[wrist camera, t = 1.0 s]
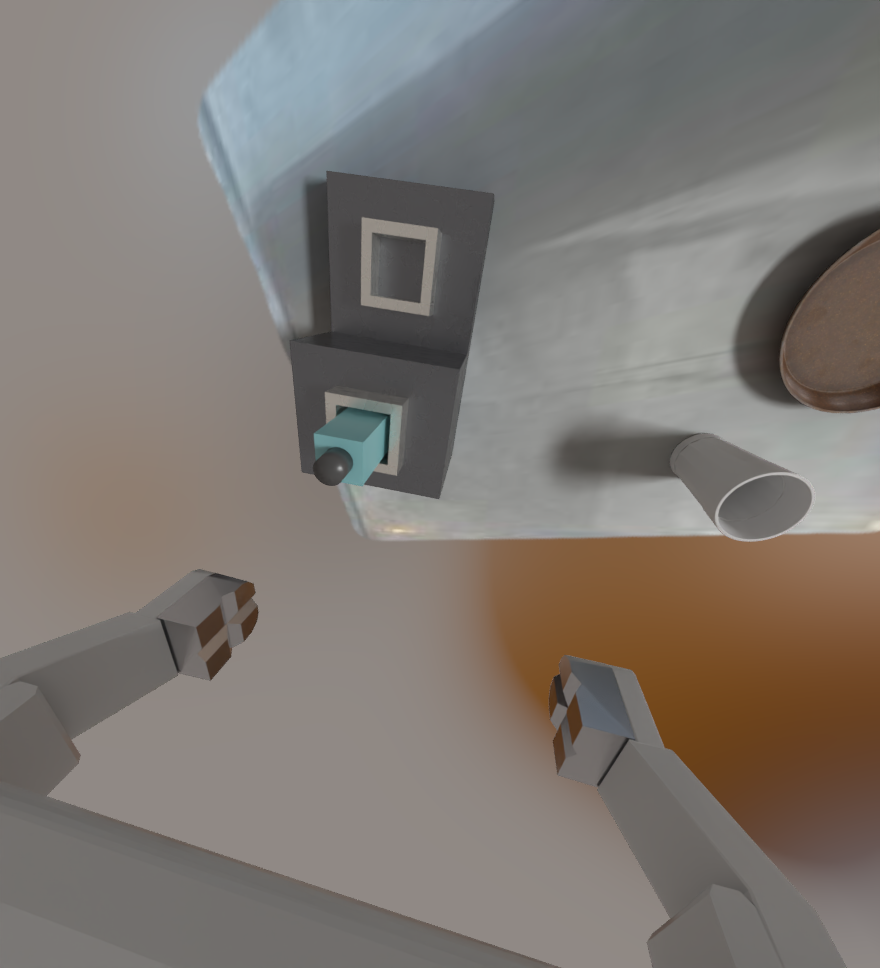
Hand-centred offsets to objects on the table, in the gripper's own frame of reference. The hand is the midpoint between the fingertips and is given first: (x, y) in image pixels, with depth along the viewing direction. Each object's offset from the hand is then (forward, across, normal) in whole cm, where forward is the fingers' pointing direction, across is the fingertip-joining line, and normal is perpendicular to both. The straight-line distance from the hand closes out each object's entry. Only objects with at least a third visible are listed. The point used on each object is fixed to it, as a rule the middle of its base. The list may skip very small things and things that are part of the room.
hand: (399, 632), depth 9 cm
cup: (+39, -28, +4) cm, 48 cm away
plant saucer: (+38, -37, -13) cm, 55 cm away
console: (+37, +10, -5) cm, 39 cm away
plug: (+25, +10, +3) cm, 28 cm away
